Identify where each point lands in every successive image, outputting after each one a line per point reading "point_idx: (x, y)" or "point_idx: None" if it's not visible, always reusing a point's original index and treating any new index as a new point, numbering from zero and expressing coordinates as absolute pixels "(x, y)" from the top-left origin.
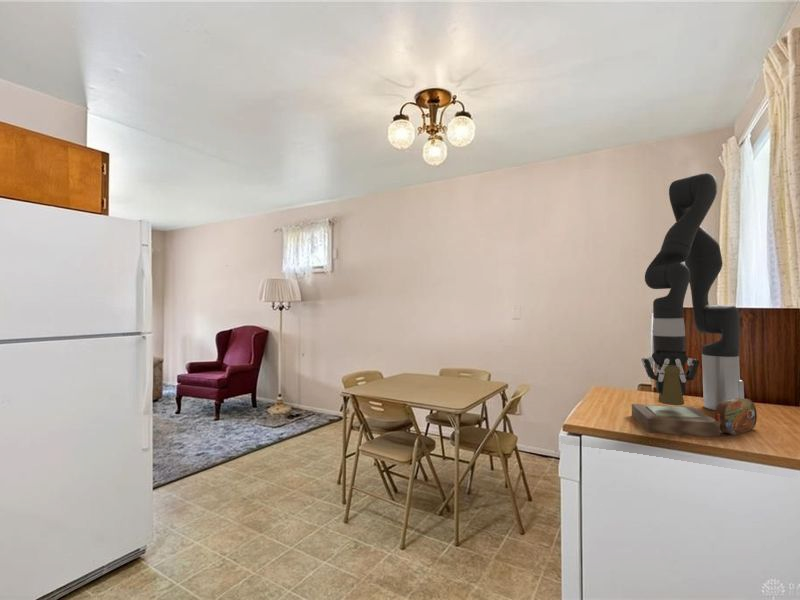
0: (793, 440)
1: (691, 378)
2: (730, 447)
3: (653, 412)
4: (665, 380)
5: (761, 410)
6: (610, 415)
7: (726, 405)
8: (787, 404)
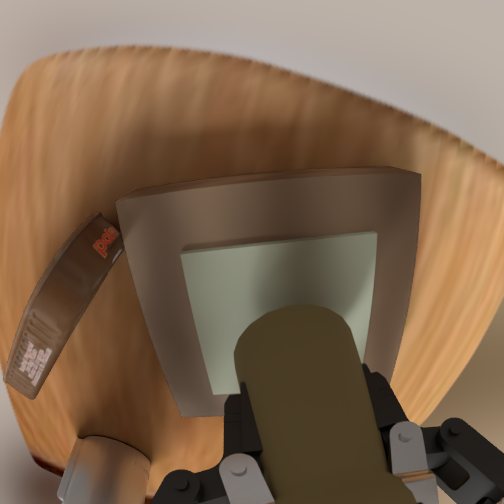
0: None
1: (178, 482)
2: (141, 67)
3: (372, 283)
4: (377, 437)
5: (56, 443)
6: (432, 333)
7: (47, 282)
8: (38, 460)
